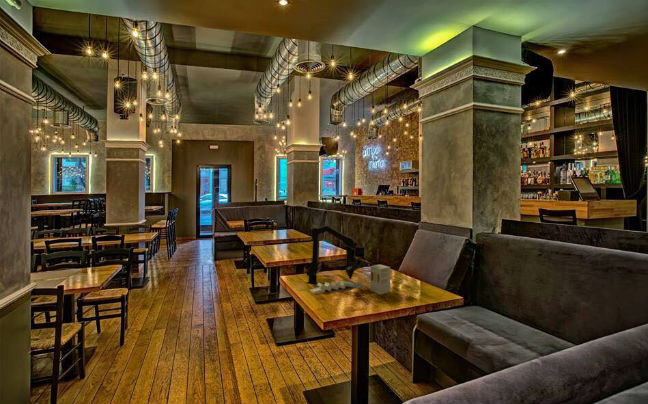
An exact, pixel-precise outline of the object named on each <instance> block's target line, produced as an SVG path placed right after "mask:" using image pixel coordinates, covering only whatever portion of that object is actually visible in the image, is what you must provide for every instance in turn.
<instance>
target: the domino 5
mask: <svg viewBox="0 0 648 404" xmlns="http://www.w3.org/2000/svg"><path fill="white" fill-rule="evenodd" d="M344 281H345V280H340V281H339V282H340V284H342V285H344V286H349V287H354V284H352V283H349V282H344Z"/></svg>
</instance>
